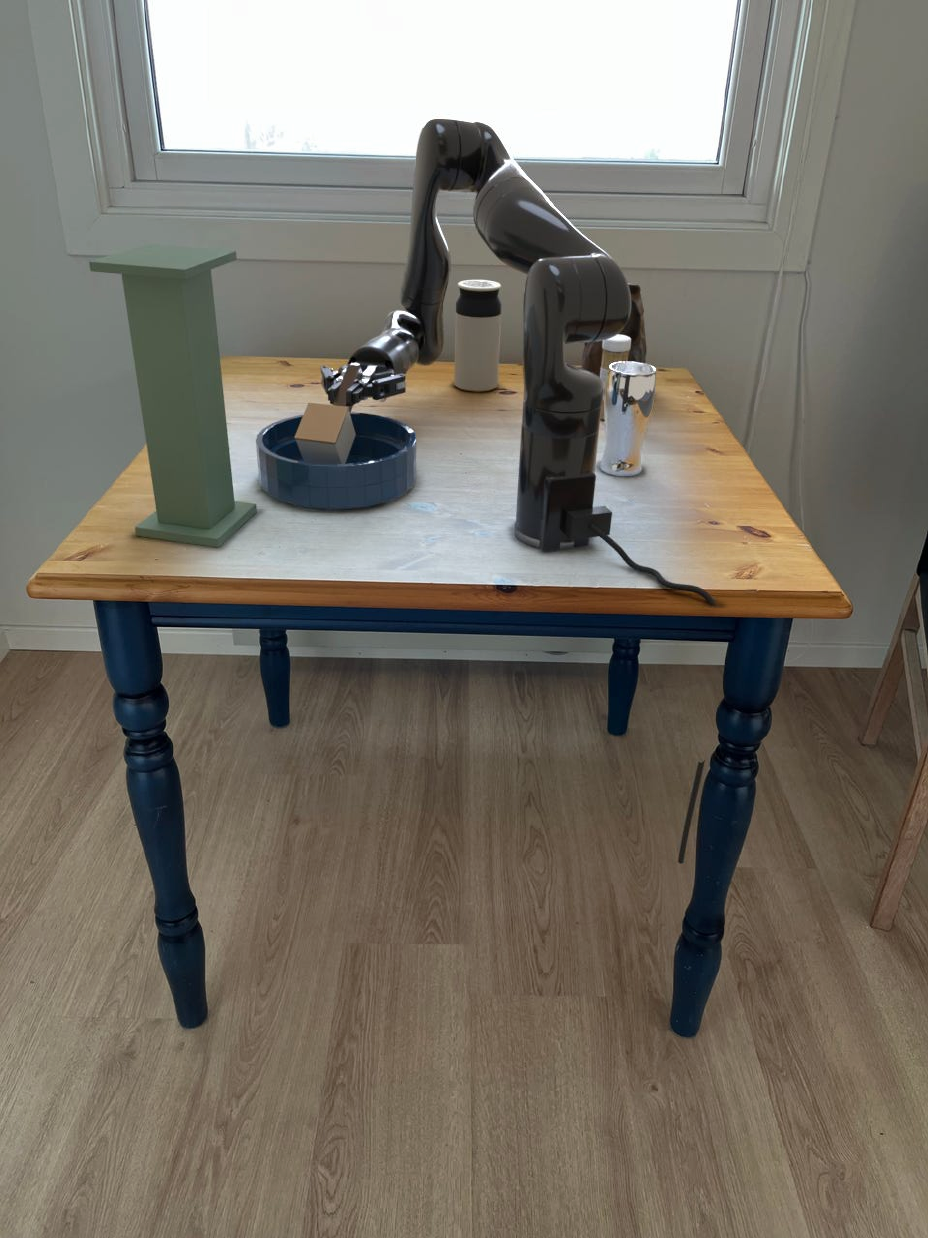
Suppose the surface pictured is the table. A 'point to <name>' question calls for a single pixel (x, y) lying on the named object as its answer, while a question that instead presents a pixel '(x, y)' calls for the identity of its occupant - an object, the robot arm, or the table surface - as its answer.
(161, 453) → the stand
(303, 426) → the mallet with brown handle
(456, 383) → the travel mug
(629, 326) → the owl
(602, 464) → the beer glass
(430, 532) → the table surface
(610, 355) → the sprinkles bottle
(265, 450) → the bowl
